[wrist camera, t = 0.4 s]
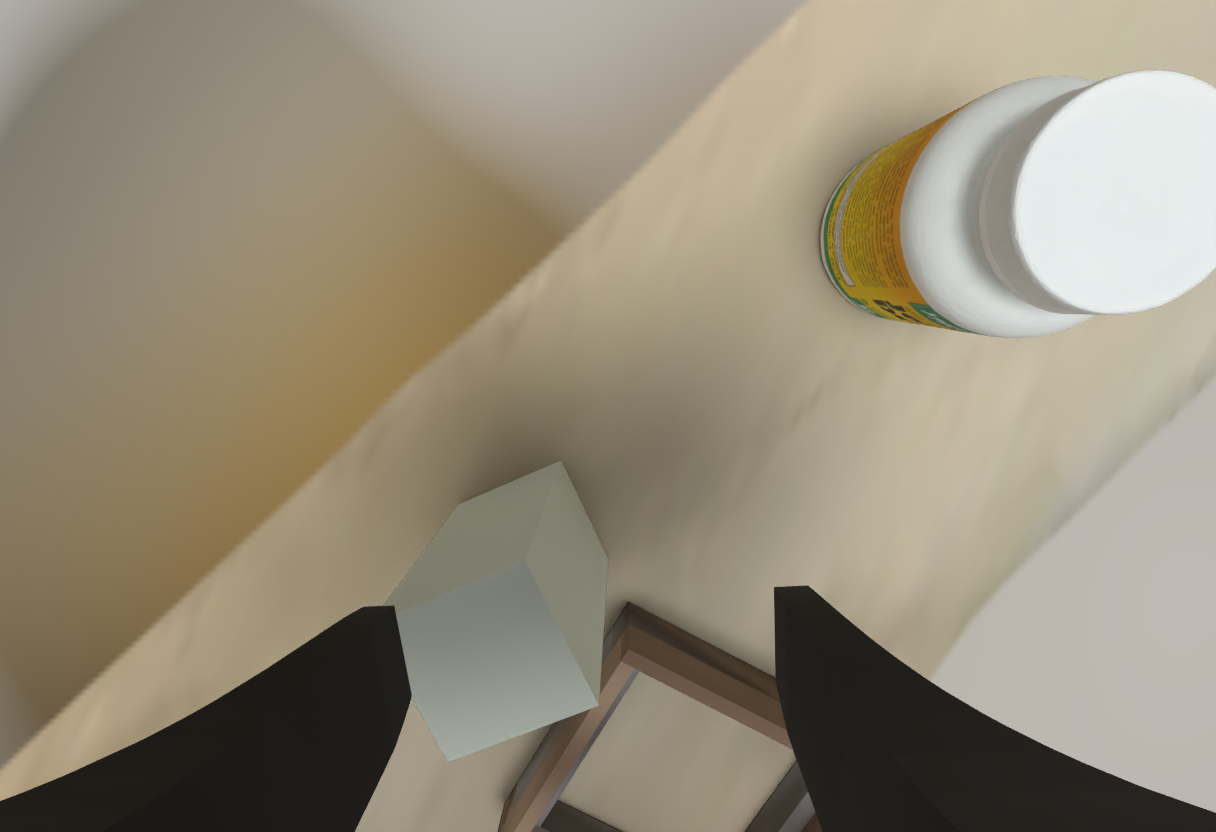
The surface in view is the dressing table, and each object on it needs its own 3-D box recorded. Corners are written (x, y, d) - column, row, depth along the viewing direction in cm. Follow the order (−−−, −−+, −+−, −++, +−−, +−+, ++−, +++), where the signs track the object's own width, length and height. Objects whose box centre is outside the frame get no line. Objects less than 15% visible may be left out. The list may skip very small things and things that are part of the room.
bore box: (723, 909, 26) (735, 990, 23) (504, 803, 25) (487, 873, 22) (861, 723, 24) (894, 785, 21) (628, 601, 23) (628, 648, 20)
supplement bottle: (993, 138, 19) (1336, 6, 10) (982, 315, 21) (1280, 345, 11) (815, 150, 20) (987, 32, 10) (813, 324, 21) (967, 362, 11)
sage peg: (508, 599, 23) (448, 762, 15) (458, 504, 22) (369, 624, 15) (608, 558, 23) (598, 705, 15) (560, 460, 22) (525, 560, 14)
